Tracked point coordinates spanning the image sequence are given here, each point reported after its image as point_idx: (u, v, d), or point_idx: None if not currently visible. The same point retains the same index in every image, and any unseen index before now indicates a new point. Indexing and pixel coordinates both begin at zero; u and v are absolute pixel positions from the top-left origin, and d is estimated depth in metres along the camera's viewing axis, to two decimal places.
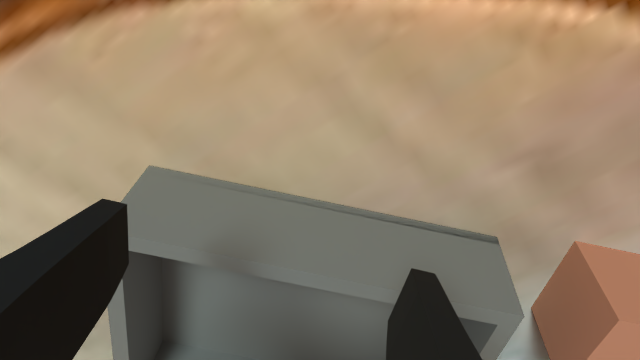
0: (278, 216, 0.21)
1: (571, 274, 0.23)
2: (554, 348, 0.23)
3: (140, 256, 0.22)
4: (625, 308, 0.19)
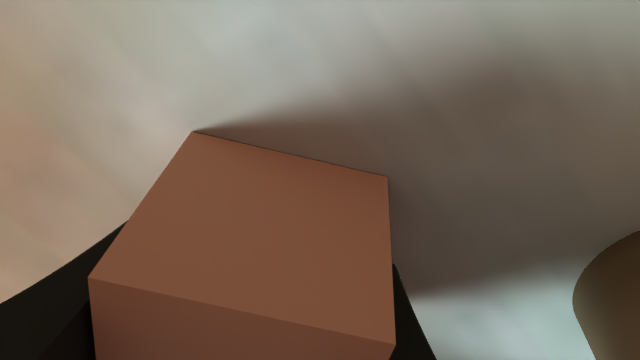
0: None
1: None
2: None
3: None
4: None
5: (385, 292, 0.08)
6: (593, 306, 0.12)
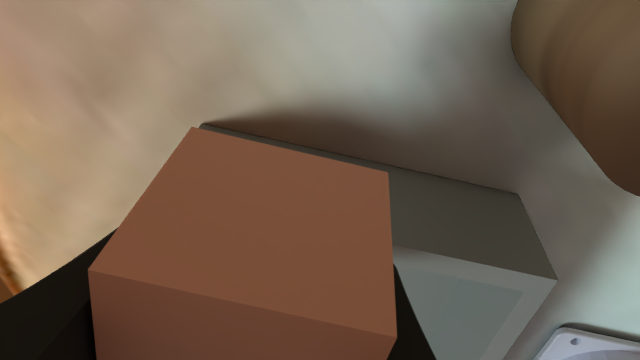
0: None
1: None
2: None
3: None
4: None
5: (386, 286, 0.08)
6: (522, 20, 0.15)
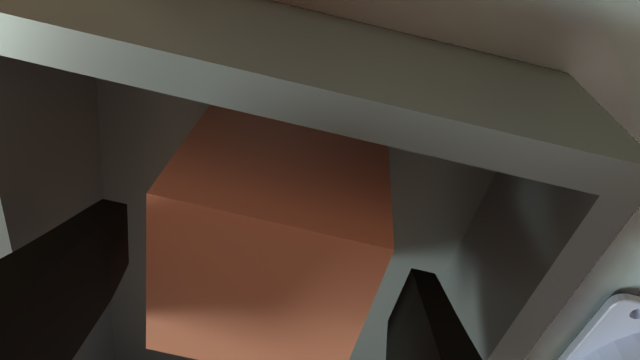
0: None
1: None
2: None
3: None
4: None
5: (385, 215, 0.10)
6: None
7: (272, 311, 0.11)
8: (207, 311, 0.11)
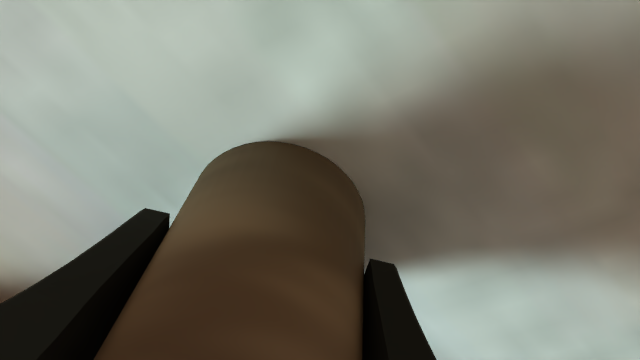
0: None
1: None
2: None
3: None
4: None
5: None
6: None
7: None
8: None
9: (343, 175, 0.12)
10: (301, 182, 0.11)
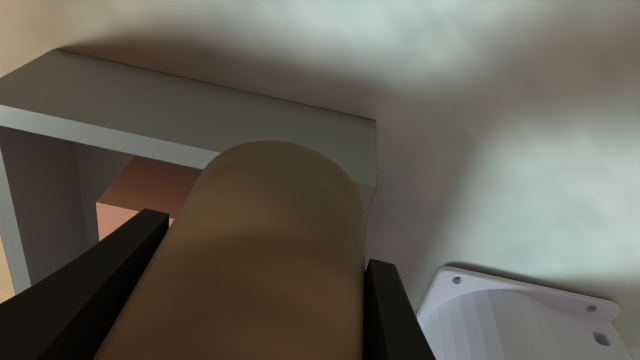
0: None
1: None
2: None
3: None
4: None
5: None
6: None
7: None
8: None
9: (344, 174, 0.12)
10: (302, 180, 0.11)
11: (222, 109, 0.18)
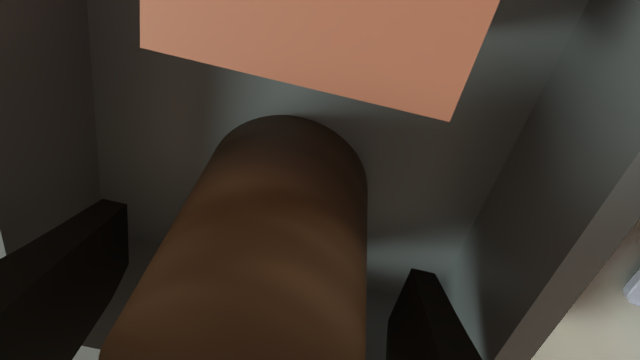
0: None
1: None
2: None
3: None
4: None
5: None
6: None
7: None
8: None
9: (349, 147, 0.13)
10: (312, 149, 0.12)
11: None
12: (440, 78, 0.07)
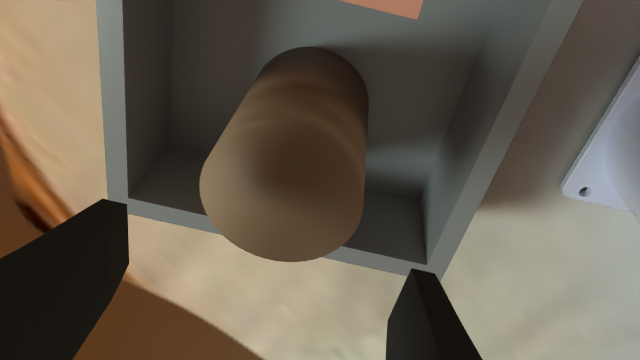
0: None
1: None
2: None
3: (199, 184, 0.20)
4: None
5: None
6: None
7: None
8: None
9: (356, 72, 0.19)
10: (331, 67, 0.17)
11: None
12: None
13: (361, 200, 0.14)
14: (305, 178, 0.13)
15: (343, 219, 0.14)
